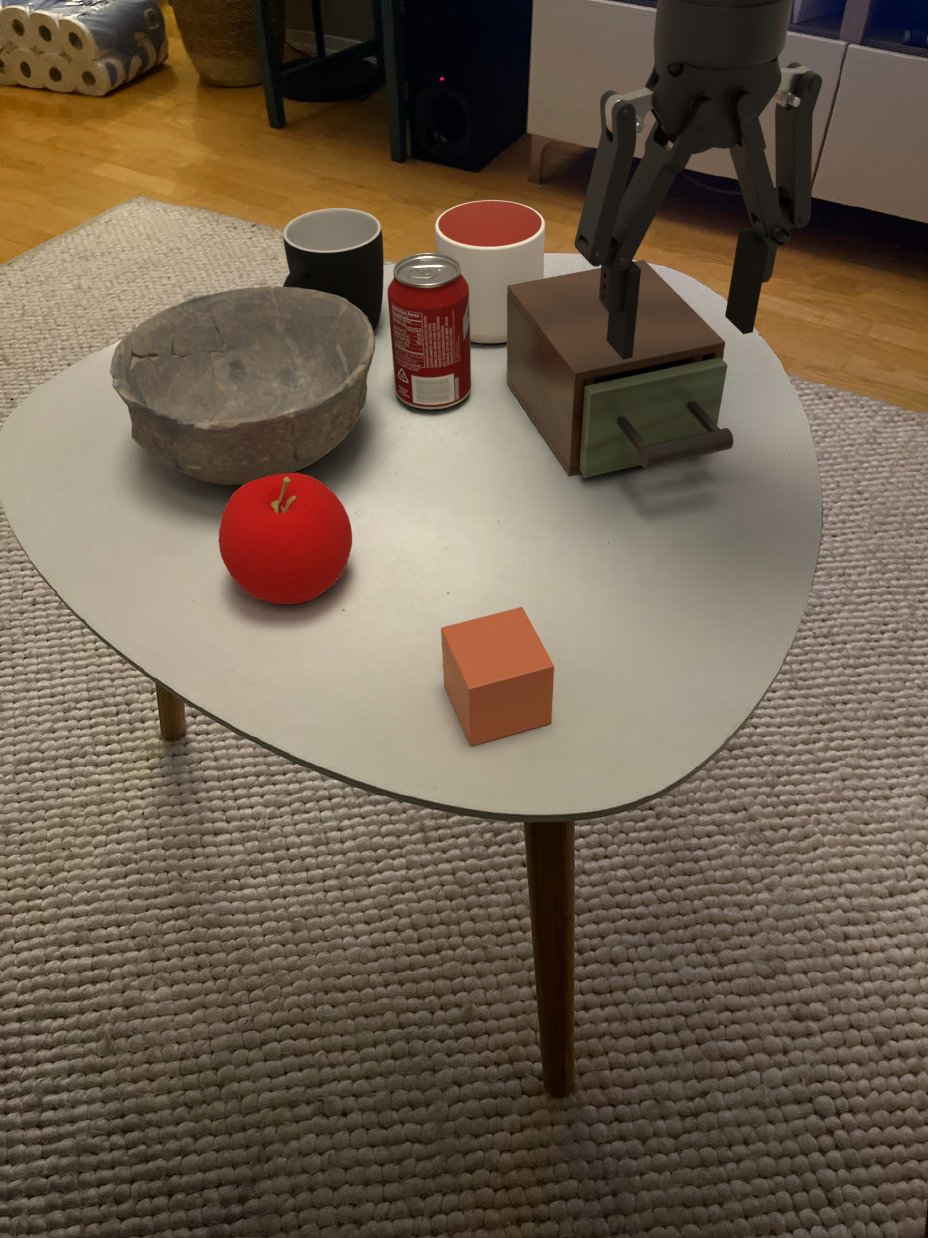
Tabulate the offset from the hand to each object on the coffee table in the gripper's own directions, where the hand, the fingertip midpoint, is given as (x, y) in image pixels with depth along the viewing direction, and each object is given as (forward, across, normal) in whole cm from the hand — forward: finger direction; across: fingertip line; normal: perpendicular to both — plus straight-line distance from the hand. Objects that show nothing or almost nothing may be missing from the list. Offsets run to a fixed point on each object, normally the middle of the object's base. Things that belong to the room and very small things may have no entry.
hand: (679, 336), depth 76 cm
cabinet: (+13, 0, -11) cm, 17 cm away
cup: (+14, +4, -29) cm, 32 cm away
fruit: (+14, +30, +1) cm, 33 cm away
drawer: (+12, 0, -6) cm, 14 cm away
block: (+13, +20, +17) cm, 29 cm away
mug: (+14, +19, -32) cm, 40 cm away
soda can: (+14, +13, -19) cm, 27 cm away
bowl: (+14, +29, -16) cm, 36 cm away
